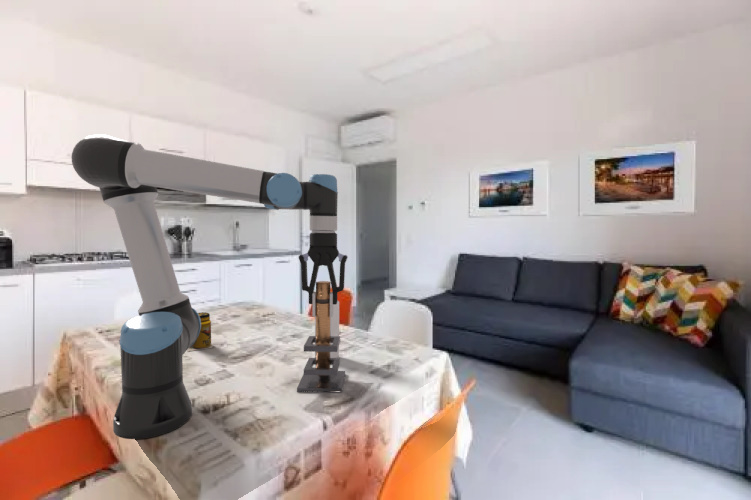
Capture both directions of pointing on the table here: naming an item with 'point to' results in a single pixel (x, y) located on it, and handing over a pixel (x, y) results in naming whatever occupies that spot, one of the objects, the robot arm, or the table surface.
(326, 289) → the brown wooden cylinder
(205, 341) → the condiment
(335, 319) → the milk
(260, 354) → the table surface
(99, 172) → the robot arm
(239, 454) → the table surface
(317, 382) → the collar stand
